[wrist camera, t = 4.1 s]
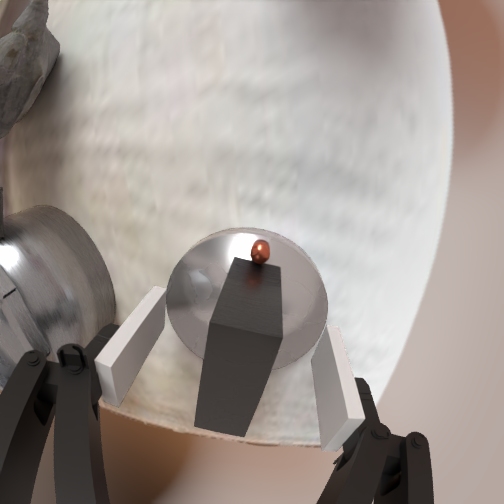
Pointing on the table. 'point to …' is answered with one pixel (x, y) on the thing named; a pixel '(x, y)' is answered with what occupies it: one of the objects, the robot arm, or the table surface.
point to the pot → (48, 285)
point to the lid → (244, 317)
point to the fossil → (25, 63)
